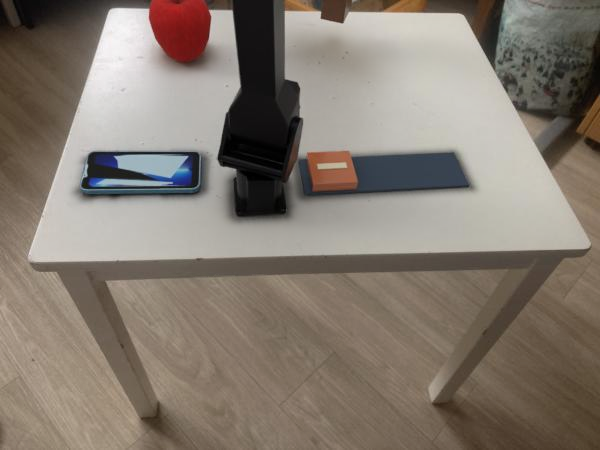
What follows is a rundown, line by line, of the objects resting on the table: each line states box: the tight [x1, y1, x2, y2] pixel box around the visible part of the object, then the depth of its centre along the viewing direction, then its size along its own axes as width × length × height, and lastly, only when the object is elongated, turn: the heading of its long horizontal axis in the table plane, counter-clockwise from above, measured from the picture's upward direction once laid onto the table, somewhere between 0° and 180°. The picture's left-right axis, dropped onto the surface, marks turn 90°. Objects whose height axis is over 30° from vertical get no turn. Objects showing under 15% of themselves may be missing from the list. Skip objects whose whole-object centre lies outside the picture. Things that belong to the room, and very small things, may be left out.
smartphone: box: [79, 150, 203, 195], centre depth 64 cm, size 7×1×15 cm
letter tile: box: [305, 150, 358, 192], centre depth 66 cm, size 6×6×2 cm
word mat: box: [298, 151, 470, 197], centre depth 68 cm, size 23×7×1 cm, turn 98°
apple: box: [148, 0, 212, 64], centre depth 78 cm, size 10×10×11 cm
